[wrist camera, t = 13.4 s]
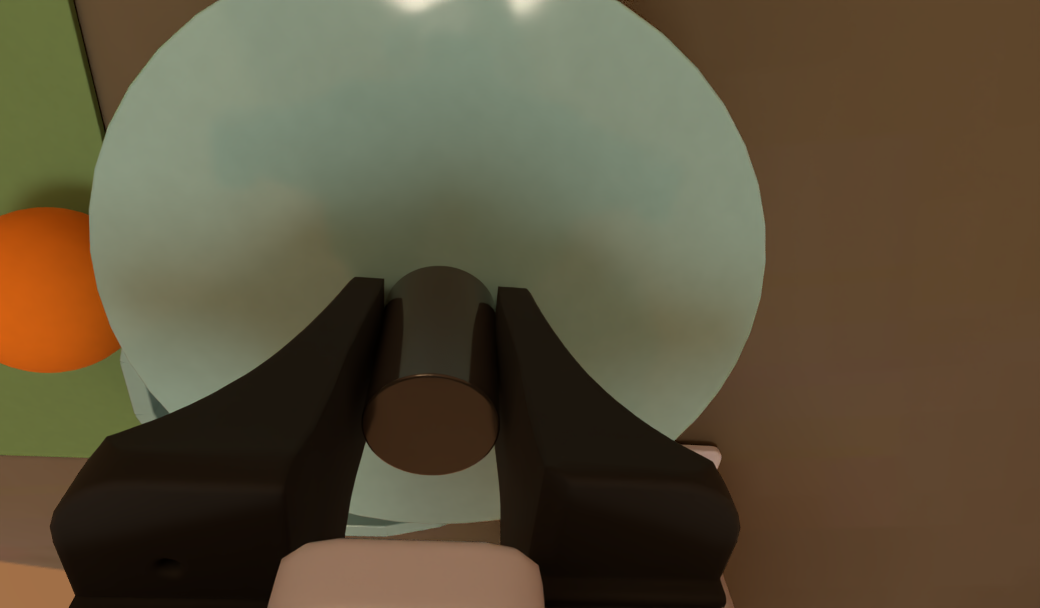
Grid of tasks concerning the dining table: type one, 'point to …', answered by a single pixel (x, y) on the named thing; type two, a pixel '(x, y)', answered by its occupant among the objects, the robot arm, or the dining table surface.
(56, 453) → the green flat l-shaped piece
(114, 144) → the lid
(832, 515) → the dining table surface
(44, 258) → the orange
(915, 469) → the dining table surface
